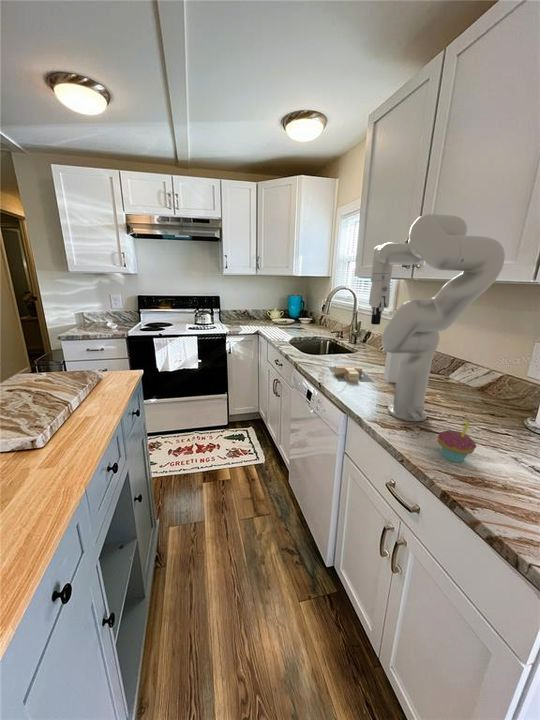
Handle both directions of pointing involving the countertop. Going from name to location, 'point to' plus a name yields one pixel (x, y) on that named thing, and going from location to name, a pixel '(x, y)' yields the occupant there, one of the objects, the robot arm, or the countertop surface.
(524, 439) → the countertop surface
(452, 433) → the cupcake
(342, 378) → the board
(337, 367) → the t block
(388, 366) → the milk carton
